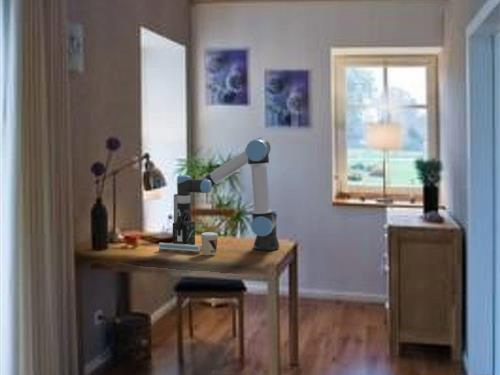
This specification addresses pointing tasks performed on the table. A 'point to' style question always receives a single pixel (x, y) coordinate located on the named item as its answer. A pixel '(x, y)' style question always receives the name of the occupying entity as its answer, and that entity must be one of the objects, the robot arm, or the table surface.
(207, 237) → the coffee cup
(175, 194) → the vase
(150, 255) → the table surface
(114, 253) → the table surface
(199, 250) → the shelf board
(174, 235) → the tampon box
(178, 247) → the price rail
